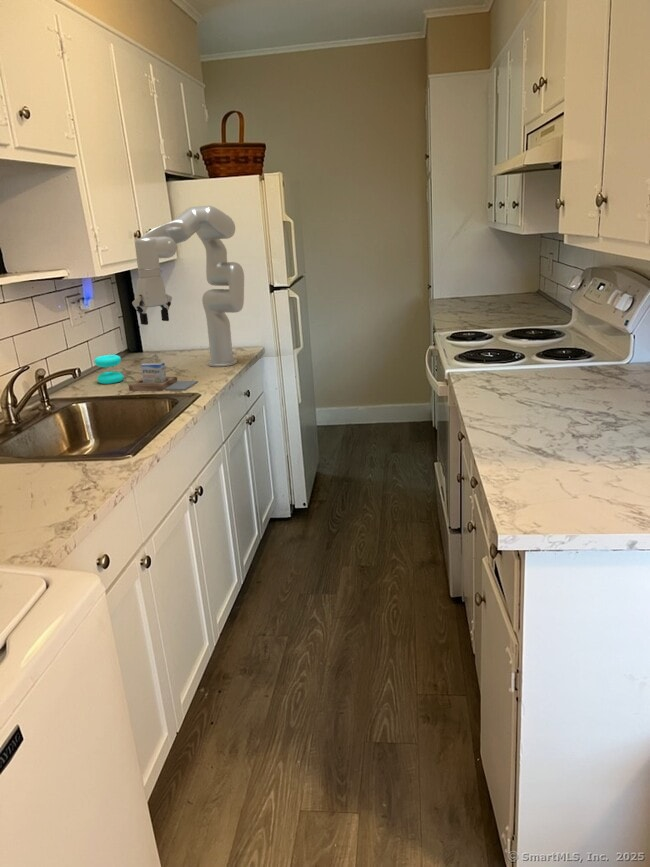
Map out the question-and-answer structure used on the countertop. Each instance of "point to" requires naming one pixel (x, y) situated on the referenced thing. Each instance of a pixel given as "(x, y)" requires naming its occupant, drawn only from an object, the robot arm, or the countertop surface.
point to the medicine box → (153, 372)
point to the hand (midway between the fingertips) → (155, 322)
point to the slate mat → (181, 385)
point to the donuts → (111, 375)
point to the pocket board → (152, 385)
